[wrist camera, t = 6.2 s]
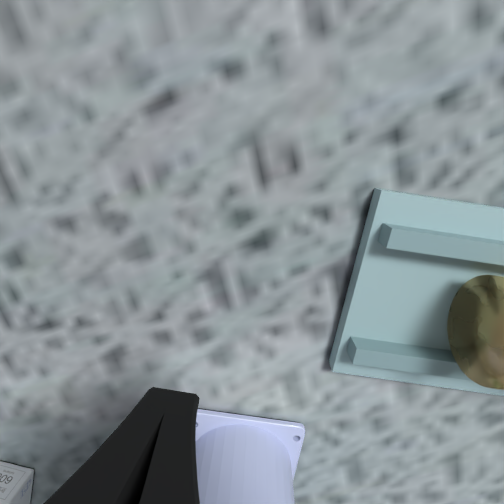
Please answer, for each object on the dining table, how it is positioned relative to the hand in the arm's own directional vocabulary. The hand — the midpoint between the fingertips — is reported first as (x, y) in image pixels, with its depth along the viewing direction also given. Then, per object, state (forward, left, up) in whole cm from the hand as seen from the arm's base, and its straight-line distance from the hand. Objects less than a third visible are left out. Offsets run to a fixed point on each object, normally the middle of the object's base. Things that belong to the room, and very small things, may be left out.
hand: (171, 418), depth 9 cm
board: (+1, -15, -10) cm, 18 cm away
